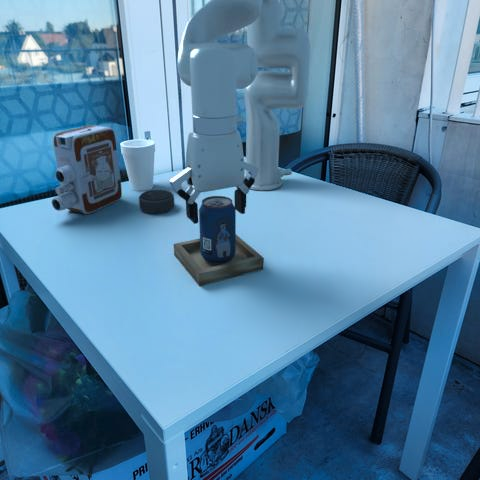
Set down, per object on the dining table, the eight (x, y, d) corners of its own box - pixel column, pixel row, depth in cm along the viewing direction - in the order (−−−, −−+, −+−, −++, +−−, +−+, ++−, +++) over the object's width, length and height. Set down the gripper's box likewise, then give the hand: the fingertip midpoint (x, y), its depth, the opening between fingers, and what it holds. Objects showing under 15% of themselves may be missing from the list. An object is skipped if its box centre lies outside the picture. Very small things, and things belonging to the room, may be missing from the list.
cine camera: (44, 218, 104) (27, 136, 96) (101, 194, 120) (91, 121, 111) (71, 225, 101) (55, 140, 92) (127, 199, 116) (118, 125, 107)
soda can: (215, 246, 89) (214, 192, 84) (242, 255, 86) (243, 199, 80) (193, 259, 84) (190, 202, 79) (221, 269, 81) (220, 210, 75)
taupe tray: (232, 241, 93) (232, 231, 92) (263, 269, 82) (263, 257, 81) (174, 254, 88) (173, 243, 87) (199, 286, 77) (198, 274, 76)
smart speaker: (149, 201, 116) (148, 187, 114) (180, 204, 113) (179, 190, 112) (133, 213, 108) (132, 198, 106) (166, 217, 106) (164, 202, 104)
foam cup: (132, 181, 130) (128, 138, 124) (162, 183, 129) (158, 140, 123) (120, 192, 122) (114, 146, 116) (151, 193, 120) (147, 148, 115)
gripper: (248, 116, 80) (247, 201, 88) (159, 125, 73) (167, 217, 81) (269, 124, 74) (266, 214, 82) (174, 135, 67) (181, 233, 75)
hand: (217, 216), depth 81 cm, fingers open, 9 cm apart
